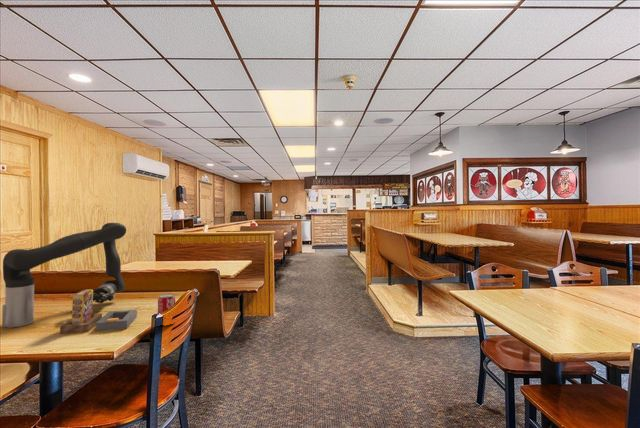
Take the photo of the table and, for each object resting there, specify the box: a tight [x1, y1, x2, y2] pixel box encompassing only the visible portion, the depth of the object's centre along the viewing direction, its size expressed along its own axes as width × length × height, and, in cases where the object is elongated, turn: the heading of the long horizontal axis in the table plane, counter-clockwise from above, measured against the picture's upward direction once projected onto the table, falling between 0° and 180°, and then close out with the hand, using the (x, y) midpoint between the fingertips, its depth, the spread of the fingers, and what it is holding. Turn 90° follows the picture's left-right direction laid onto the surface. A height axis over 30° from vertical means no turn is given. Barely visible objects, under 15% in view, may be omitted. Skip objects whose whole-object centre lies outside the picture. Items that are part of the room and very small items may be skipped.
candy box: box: [71, 289, 94, 324], centre depth 135 cm, size 9×4×15 cm, turn 13°
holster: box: [59, 313, 103, 335], centre depth 135 cm, size 10×15×3 cm, turn 18°
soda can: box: [157, 293, 176, 314], centre depth 139 cm, size 7×7×13 cm
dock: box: [95, 308, 138, 332], centre depth 139 cm, size 12×16×4 cm
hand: (90, 301), depth 144 cm, fingers open, 8 cm apart
